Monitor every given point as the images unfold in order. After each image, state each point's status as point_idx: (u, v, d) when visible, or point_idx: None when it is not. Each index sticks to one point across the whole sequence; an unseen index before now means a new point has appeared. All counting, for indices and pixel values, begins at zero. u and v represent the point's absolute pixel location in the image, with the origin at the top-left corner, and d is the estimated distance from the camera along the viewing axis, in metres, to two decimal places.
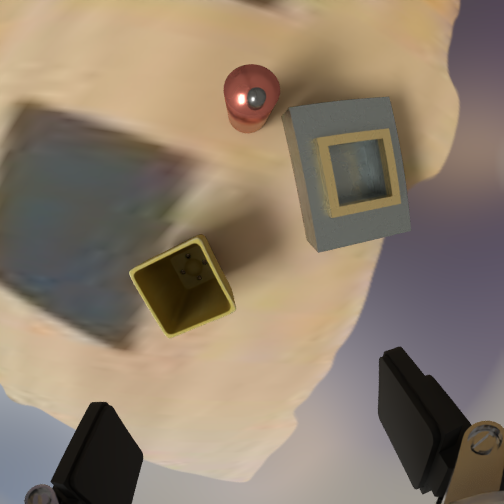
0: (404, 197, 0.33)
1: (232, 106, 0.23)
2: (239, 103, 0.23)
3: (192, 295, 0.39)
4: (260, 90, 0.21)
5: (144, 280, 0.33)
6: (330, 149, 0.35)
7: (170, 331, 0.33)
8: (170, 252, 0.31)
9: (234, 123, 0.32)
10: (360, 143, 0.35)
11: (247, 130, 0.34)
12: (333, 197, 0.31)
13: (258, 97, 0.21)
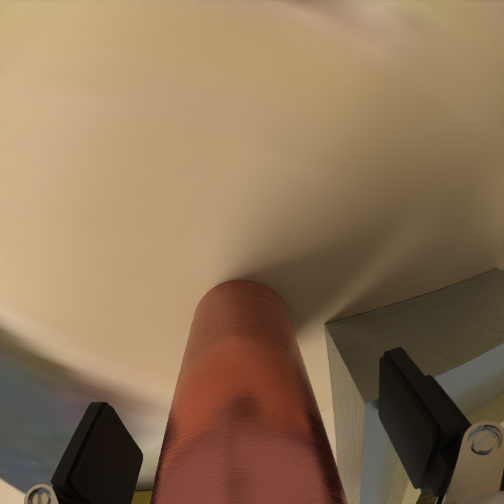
0: None
1: None
2: None
3: None
4: None
5: None
6: None
7: None
8: None
9: None
10: None
11: None
12: None
13: None
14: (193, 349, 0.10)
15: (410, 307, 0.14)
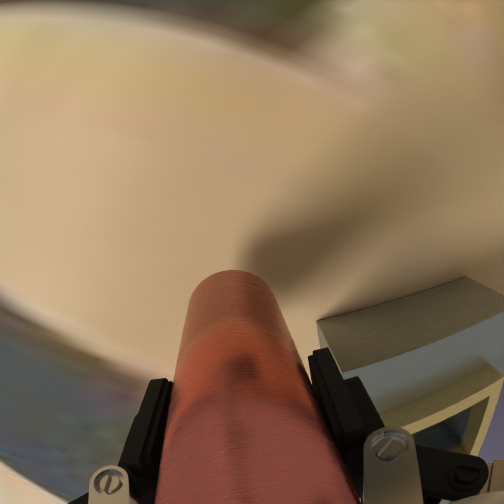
0: None
1: None
2: None
3: None
4: None
5: None
6: None
7: None
8: None
9: None
10: None
11: None
12: None
13: None
14: (192, 329, 0.11)
15: (385, 308, 0.18)
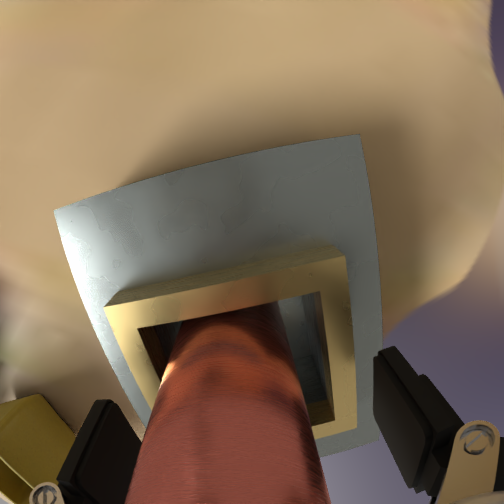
0: None
1: None
2: None
3: None
4: None
5: None
6: None
7: (18, 501, 0.14)
8: None
9: None
10: None
11: None
12: None
13: None
14: (187, 322, 0.11)
15: None
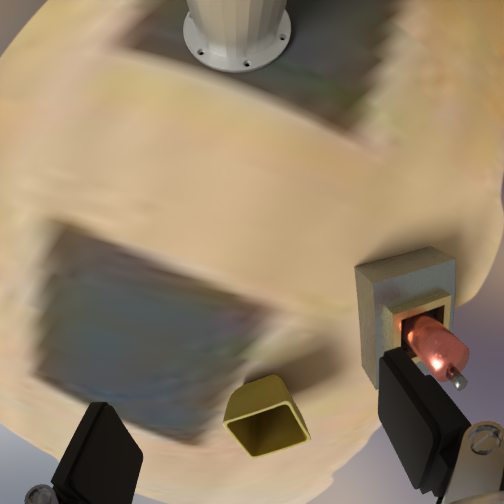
0: None
1: (437, 377, 0.26)
2: (442, 375, 0.26)
3: (263, 413, 0.42)
4: (465, 381, 0.23)
5: (232, 421, 0.35)
6: None
7: (253, 453, 0.36)
8: (262, 410, 0.33)
9: None
10: None
11: None
12: None
13: (462, 386, 0.24)
14: None
15: (388, 260, 0.37)
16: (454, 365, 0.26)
